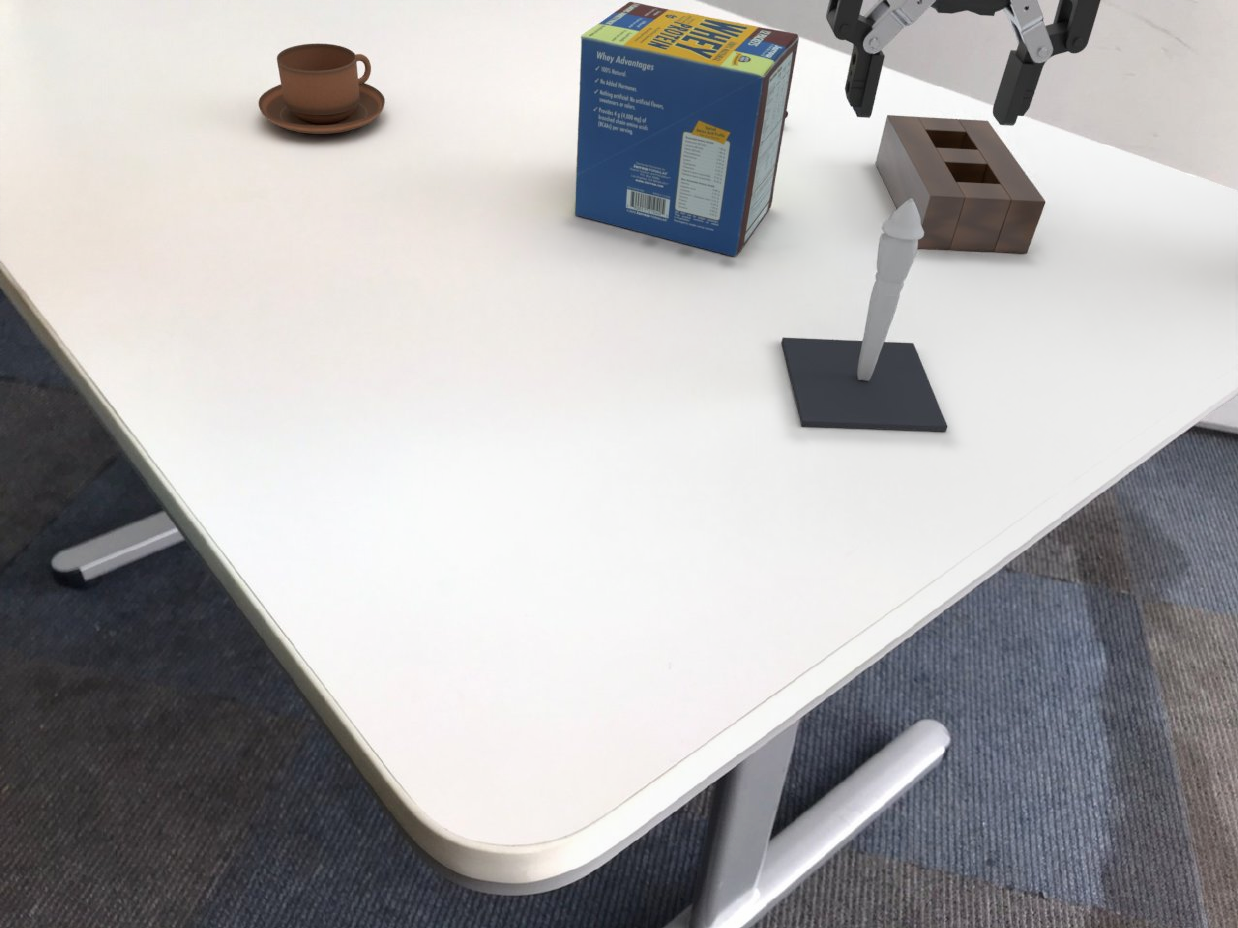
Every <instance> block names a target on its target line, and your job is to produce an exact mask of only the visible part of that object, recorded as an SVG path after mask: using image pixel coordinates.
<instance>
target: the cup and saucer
mask: <svg viewBox="0 0 1238 928" xmlns="http://www.w3.org/2000/svg"><path fill="white" fill-rule="evenodd" d="M357 62H362V64H363V66H364V73H363V74H362V76H361V77H359V76H358V75H359V74H358V63H357ZM276 63H277V68H278V74H279V80H280V84H278V85H276V86H273V87H271V88H269V89H268V90H266V91H264V93H262V95H261V96H260V97H259V100H258V107H259V110H260V112H261V114H262V116H264V118H265V119H267V120H269V121H270V122H271V123H273V124H274V125H275V126H278V127H280V128H282V129H285V130H288V131H291V132H297V133H300V134H301V133H302V134H312V135H313V134H314V135H327V134H329V135H330V134H338V133H344V132H349V131H353V130H356V129H359V128H362V127H364V126H366V125H368V124H370V123H372V122H373V121H374V120H375V119H376V118H377V117H379V116H380V115H381V113H383V110H384V108H385V101H386V99H385V96H384V95H383V93H382V92H381V91H380V90H379V89H377V88H376V87H375V86H373V85H371V84H368V83H366V82H367V81H368V80H369V79H370V76H371V72H372V65H371V62H370V60H369V58H368V57H367V56H366V55H364V54H362V53H357V54H356V53H355V52H354V51H353V50H351V49H349V48H347V47H345V46H342V45H337V44H332V43H304V44H298V45H294V46H290V47H288V48H285V49H283V50H282V51H280V52H279V53H278V54H277V55H276Z"/></svg>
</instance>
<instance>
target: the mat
mask: <svg viewBox="0 0 1238 928" xmlns="http://www.w3.org/2000/svg"><path fill="white" fill-rule="evenodd" d="M862 341H863V340H852V339H850V340H849V339H825V338H806V337H805V338H803V337H782V338H781V346H782V351H783V354H784V358H785V363H786V367H787V371H788V376H789V379H790V383H791V387H792V392H793V396H794V400H795V405H796V408H797V412H798V418H799V421H800V425H801V427H812V428H813V427H814V428H837V429H839V428H840V429H860V430H861V429H864V430H888V431H915V432H916V431H917V432H941V433H943V432H944V433H945V432H947V429H948V424H947V421H946V419H945V417H944V414H943V412H942V409H941V407H940V404H939V402H938V400H937V397H936V395H935V393H934V390H933V388H932V385H931V382H930V380H929V378H928V376H927V373H926V371H925V368H924V366H923V363H922V361H921V359H920V356H919V354H918V351H917V349H916V347H915V344H914V342H896V341H895V342H894V341H884V344H883V346H882V349H881V352H880V354H879V357H878V360H877V363H876V366H875V368H874V371H873V374H872V376H871V378H870V380H869V381H864V380H858V377H857V369H858V362H859V357H860V352H861V347H862Z"/></svg>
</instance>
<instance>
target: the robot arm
mask: <svg viewBox="0 0 1238 928" xmlns="http://www.w3.org/2000/svg"><path fill="white" fill-rule="evenodd" d="M1101 1H1102V0H1058V4H1057V7H1056V12H1055V15H1054V19H1053V23H1049V24H1047V25H1045V22H1044V19H1045V18H1044V15H1043V12H1042V9H1041V7H1040V4H1039V1H1038V0H877V2H875V3H874V5H872V6H871V8H870V9H869V10H868V11H866V13H865V14H864V15H862V14H861V10H862V7H863V2H864V0H829V1H828V5H827V9H826V13H825V19H826V21H827V23H828V25H829V27H830V29H831V31H832V33H833V35H834V37H835V38H836V39H838V40H839V41H846V42H849V43H851V44H852V45H853V46H852V52H851V57H850V62H849V67H848V72H847V76H846V81H845V86H844V92H845V97H846V99H847V102H848V103H849V106H850V107H852V109H853V111H854V114H855V115H856V117H857V118H867V119H870V118H871V116H872V114H873V110H874V105H875V101H876V97H877V92H878V89H879V83H880V79H881V75H882V70H883V65H884V62H885V57H886V55H885V54H884V52H883V49H885V47H886V46H887V45H888V44H889V43H890V42H891V41H892V40H893V39H894V38H895V37H896V36H897V35H898V34H899V33H900V32H901V31H902V30H903V29H904V28H905V27H909V26H911V25H913V24H914V23H915V22H916V21H917V20H918V19H919V18H920V17H921V16H923V14H924V13H926V11H928V9H929V8H932V9H934V10H935V11H936V12H937V14H950V15H951V14H958V13H961V12H970V13H973V14H976V15H979V16H986V17H995V15H996V13H997V12H1000V11H1002V10H1003V12H1004V14H1005V16H1006V17H1007V19H1008V21H1009V24H1010V27H1011V29H1012V31H1013V34H1014V37H1015V40H1016V41H1017V48H1016V50H1015V49H1010V51H1009V53H1008V58H1007V61H1006V64H1005V66H1004V70H1003V73H1002V77H1001V80H1000V83H999V87H998V90H997V93H996V96H995V100H994V103H993V107H992V115H993V117H994V119H995V120H996V121H997V123H998V124H999V125H1000V126H1008V127H1009V126H1010V127H1012V126H1014V125H1015V124H1016V123H1017V120H1018V117H1024V116H1025V115H1026V113H1027V112H1028V111H1029V110H1030V107H1031V105H1032V101H1033V98H1034V96H1035V95H1034V94H1035V93H1036V92H1035V91H1036V89H1037V86H1038V83H1039V80H1040V78H1041V75H1042V71H1043V68H1044V66H1045V64H1046V63H1047V61H1048V60H1049V59H1051V58H1053V57H1054V56H1057V55H1061V54H1064V53H1067V52H1068V53H1070V54H1079V53H1081V52H1083V51H1084V50H1085V49H1086V47H1088V45H1089V42H1090V38H1091V35H1092V31H1093V28H1094V25H1095V21H1096V17H1097V14H1098V11H1099V8H1100V4H1101Z"/></svg>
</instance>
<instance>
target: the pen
mask: <svg viewBox="0 0 1238 928" xmlns="http://www.w3.org/2000/svg"><path fill="white" fill-rule="evenodd" d="M881 230H882V232H883V233H881V235H880V237H879V241H878V248H877V257H876V258H877V259H876V273H875V281H874V283H873V286H872V290H871V293H870V298H869V303H868V307H867V308H868V309H867V314H866V320H865V325H864V330H863V337H862V340H861V341H862V347H861V352H860V357H859V362H858V369H857V377H858V380H864V381H869V380H870V378H871V376H872V374H873V371H874V368H875V366H876V363H877V360H878V357H879V354H880V352H881V349H882V346H883V344H884V342H886V341H885V340H886V338H887V335H888V333H889V330H890V327H891V324H892V322H893V319H894V316H895V314H896V311H897V308H898V304H899V302H900V297H901V292H902V291H903V288H904V285H905V281H906V279H907V278H908V275H909V273H910V271H911V268H912V265H913V263H914V261H915V259H916V257H917V256H916V255H917V252H918V248H917V247H918V239H921V238H922V237H923V236H924V231H923V229H922V226H921V220H920V215H919V213H918V210H917V208H916V205H915V203H914V201H913V199H912V198H910V199H909V200H908V201H906V202H905V203H904V204H903V205H901V206H900V207H899V208H898V209H897V208H896V209H895V211H893V212H892V213H891V215H890V216H889V218H888V219H887V220H886V221H884V222H883V223H882V225H881Z"/></svg>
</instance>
